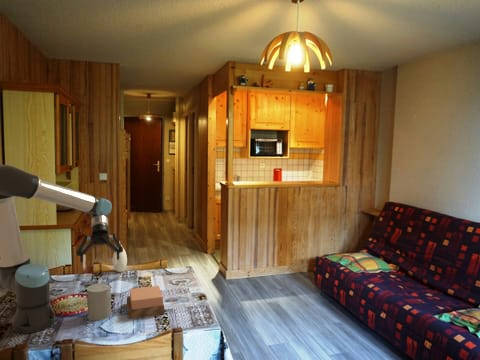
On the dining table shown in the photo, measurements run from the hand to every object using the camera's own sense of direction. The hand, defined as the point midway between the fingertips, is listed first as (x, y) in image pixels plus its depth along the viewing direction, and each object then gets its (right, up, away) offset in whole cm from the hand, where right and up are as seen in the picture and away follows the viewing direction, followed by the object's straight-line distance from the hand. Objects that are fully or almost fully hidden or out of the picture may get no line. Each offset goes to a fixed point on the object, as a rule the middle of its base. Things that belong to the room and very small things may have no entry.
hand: (100, 267), depth 167 cm
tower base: (+21, -19, -2) cm, 28 cm away
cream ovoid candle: (-5, -13, +43) cm, 45 cm away
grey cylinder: (+3, -19, -8) cm, 21 cm away
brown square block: (+21, -15, -2) cm, 26 cm away
